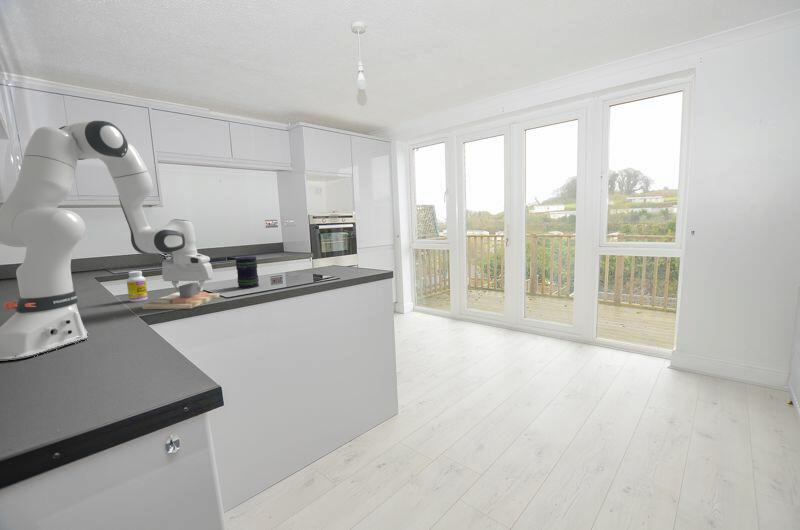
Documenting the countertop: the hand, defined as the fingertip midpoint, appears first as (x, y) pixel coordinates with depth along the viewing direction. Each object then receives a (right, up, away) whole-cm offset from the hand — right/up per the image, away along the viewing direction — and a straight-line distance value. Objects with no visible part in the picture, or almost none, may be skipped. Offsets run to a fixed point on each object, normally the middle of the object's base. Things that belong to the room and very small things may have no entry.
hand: (189, 291), depth 147 cm
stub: (0, -3, 0) cm, 3 cm away
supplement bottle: (-27, -5, +7) cm, 28 cm away
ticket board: (-3, -5, +1) cm, 6 cm away
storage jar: (+12, 0, +31) cm, 33 cm away
